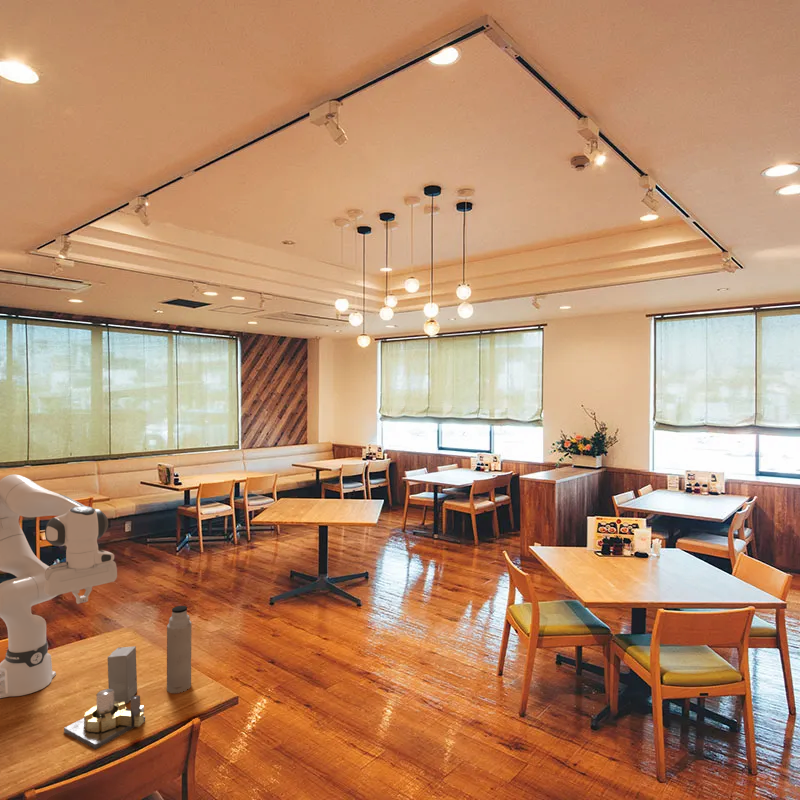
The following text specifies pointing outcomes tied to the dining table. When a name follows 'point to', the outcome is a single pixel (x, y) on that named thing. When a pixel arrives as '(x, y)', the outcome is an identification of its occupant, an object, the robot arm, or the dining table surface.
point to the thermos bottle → (179, 651)
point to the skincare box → (123, 673)
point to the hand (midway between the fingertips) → (82, 602)
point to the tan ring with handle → (115, 717)
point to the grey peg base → (103, 707)
